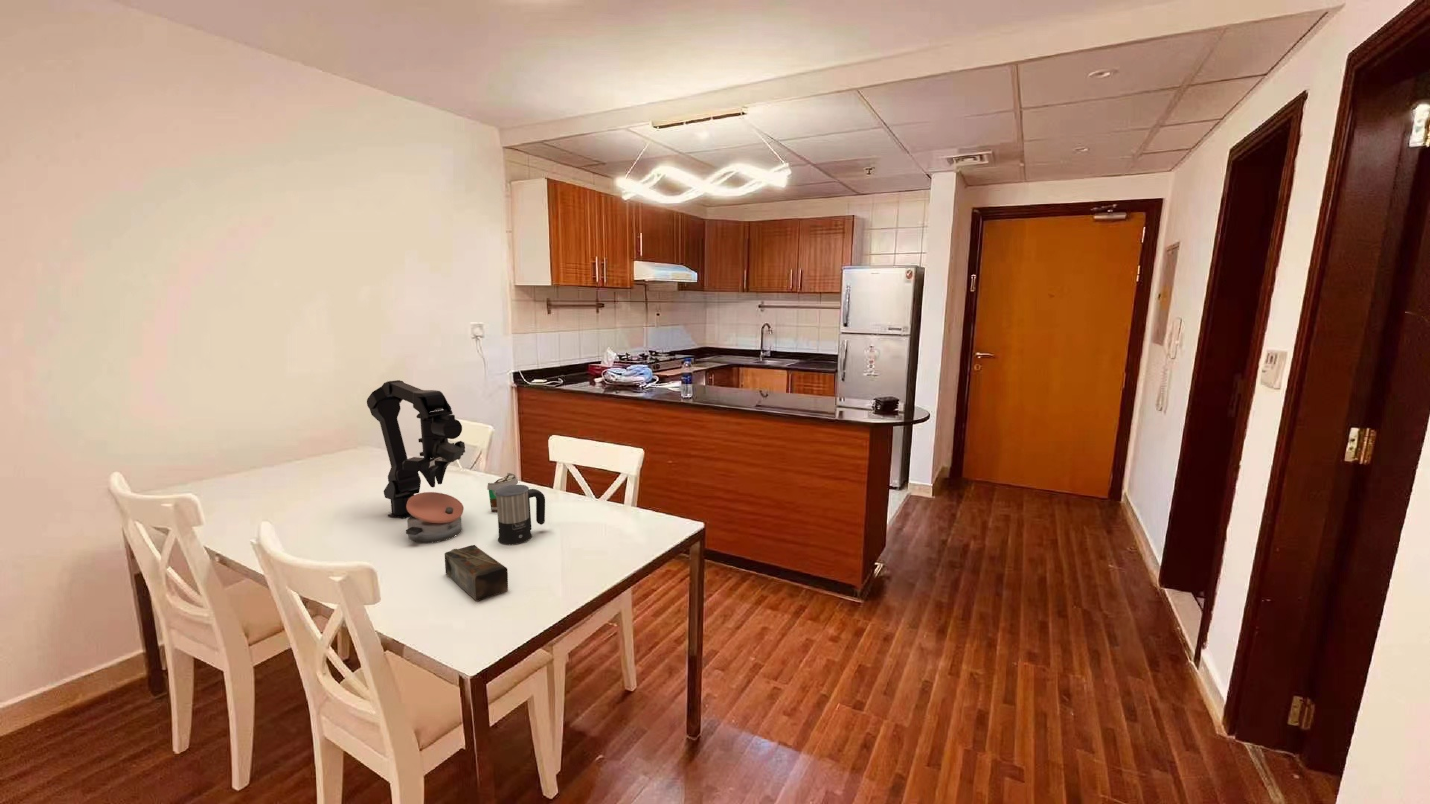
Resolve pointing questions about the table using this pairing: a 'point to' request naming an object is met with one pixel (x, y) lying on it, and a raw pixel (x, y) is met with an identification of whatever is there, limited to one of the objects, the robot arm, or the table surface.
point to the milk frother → (517, 512)
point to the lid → (434, 507)
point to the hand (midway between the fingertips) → (436, 485)
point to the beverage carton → (476, 572)
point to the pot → (432, 530)
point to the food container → (502, 482)
